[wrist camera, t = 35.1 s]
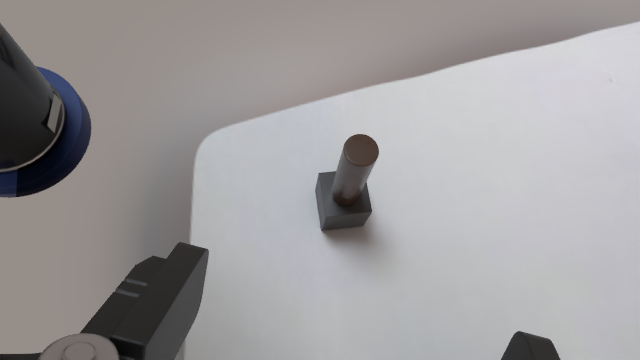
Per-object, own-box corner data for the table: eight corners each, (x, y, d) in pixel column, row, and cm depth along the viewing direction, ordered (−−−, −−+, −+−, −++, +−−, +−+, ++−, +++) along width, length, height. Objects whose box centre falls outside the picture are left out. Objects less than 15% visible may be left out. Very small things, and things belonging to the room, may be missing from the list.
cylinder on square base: (321, 230, 41) (337, 180, 30) (315, 190, 42) (328, 126, 31) (363, 225, 41) (395, 173, 30) (356, 185, 43) (384, 121, 31)
